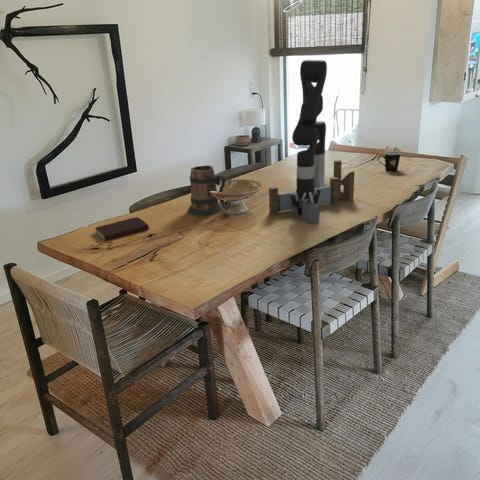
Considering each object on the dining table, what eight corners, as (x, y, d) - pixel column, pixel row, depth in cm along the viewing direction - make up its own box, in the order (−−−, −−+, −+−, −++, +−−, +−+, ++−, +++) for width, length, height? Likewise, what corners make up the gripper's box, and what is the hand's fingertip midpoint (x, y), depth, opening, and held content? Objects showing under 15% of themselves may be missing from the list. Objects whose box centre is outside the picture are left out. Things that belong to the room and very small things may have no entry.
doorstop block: (292, 212, 213) (292, 197, 210) (301, 211, 214) (301, 196, 212) (309, 223, 199) (309, 208, 196) (319, 222, 200) (319, 206, 198)
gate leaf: (275, 210, 215) (275, 193, 212) (328, 201, 224) (328, 185, 221) (278, 212, 213) (277, 195, 210) (331, 202, 221) (331, 186, 218)
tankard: (180, 212, 221) (175, 170, 213) (201, 202, 234) (198, 162, 226) (221, 219, 209) (218, 175, 201) (241, 208, 222) (239, 166, 214)
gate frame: (269, 213, 214) (268, 187, 209) (335, 201, 225) (335, 176, 220) (272, 215, 211) (271, 189, 207) (338, 203, 222) (339, 178, 217)
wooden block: (348, 201, 224) (350, 164, 217) (330, 197, 231) (331, 160, 224) (353, 199, 226) (355, 162, 219) (335, 195, 234) (336, 159, 227)
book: (149, 231, 202) (148, 223, 201) (105, 242, 192) (104, 234, 191) (137, 223, 212) (137, 216, 210) (95, 233, 202) (94, 226, 201)
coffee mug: (401, 169, 273) (402, 152, 269) (396, 173, 266) (398, 155, 262) (380, 167, 279) (382, 150, 275) (376, 171, 272) (377, 153, 268)
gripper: (316, 171, 205) (315, 209, 212) (286, 176, 201) (286, 214, 207) (324, 175, 199) (324, 214, 205) (294, 180, 194) (294, 219, 201)
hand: (305, 214), depth 206 cm, fingers closed on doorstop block, 4 cm apart
